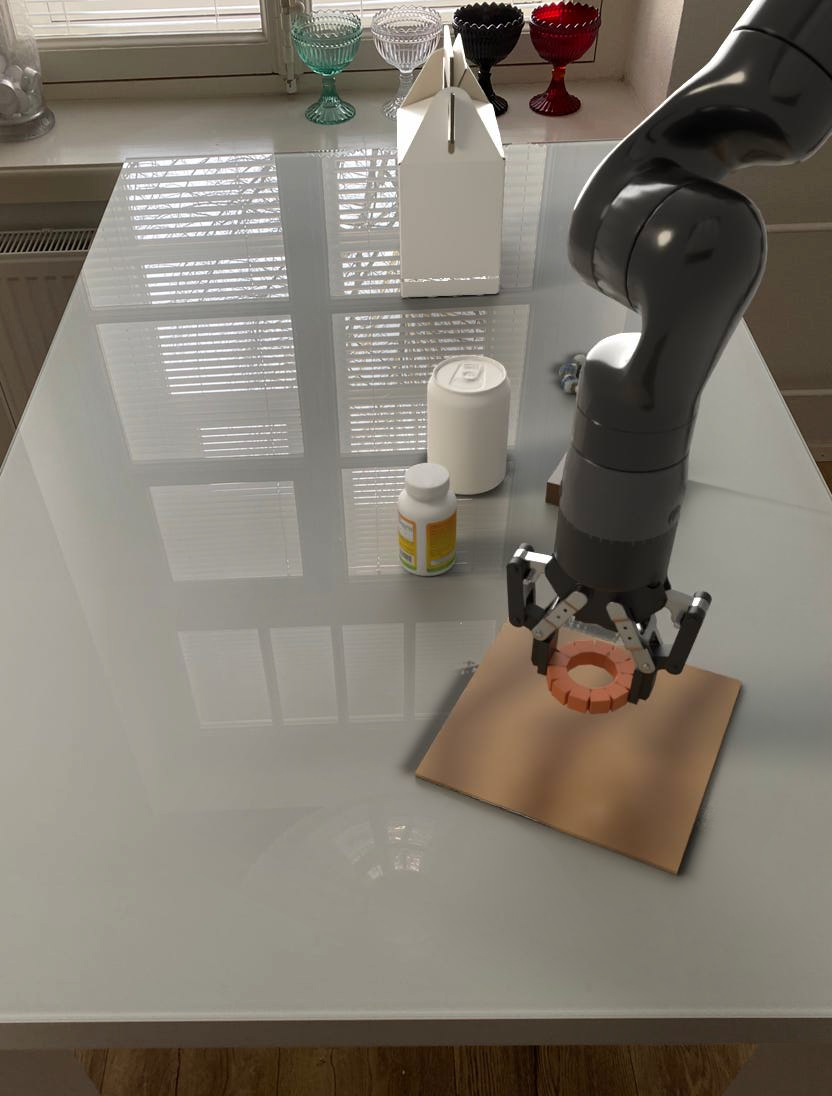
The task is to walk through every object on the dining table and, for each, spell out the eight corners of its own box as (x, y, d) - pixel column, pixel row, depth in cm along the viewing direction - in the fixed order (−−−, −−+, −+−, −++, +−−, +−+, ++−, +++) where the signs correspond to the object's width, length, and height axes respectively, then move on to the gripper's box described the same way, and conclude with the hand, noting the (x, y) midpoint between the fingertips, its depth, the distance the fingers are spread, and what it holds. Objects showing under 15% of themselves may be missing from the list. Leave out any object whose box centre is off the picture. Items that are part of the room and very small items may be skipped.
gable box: (499, 296, 133) (510, 62, 114) (401, 300, 134) (395, 68, 114) (487, 229, 149) (495, 15, 130) (399, 234, 150) (394, 21, 130)
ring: (644, 667, 75) (646, 654, 74) (618, 725, 71) (621, 712, 70) (563, 643, 78) (565, 630, 77) (534, 697, 74) (535, 684, 73)
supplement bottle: (460, 545, 96) (463, 461, 89) (449, 581, 92) (451, 496, 85) (406, 538, 97) (404, 454, 90) (393, 573, 93) (390, 488, 86)
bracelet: (658, 397, 113) (661, 382, 111) (579, 414, 111) (581, 398, 110) (618, 358, 120) (620, 343, 118) (543, 373, 118) (545, 358, 117)
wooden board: (741, 684, 81) (742, 680, 80) (676, 875, 68) (677, 872, 68) (510, 615, 88) (511, 611, 88) (414, 776, 76) (414, 773, 76)
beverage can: (420, 495, 102) (419, 391, 93) (435, 451, 107) (435, 349, 99) (499, 503, 100) (505, 398, 92) (509, 458, 106) (516, 355, 97)
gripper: (749, 496, 63) (698, 678, 74) (533, 446, 68) (517, 623, 80) (721, 565, 58) (671, 748, 70) (492, 505, 63) (481, 685, 75)
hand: (589, 681), depth 75 cm, fingers closed on ring, 6 cm apart
